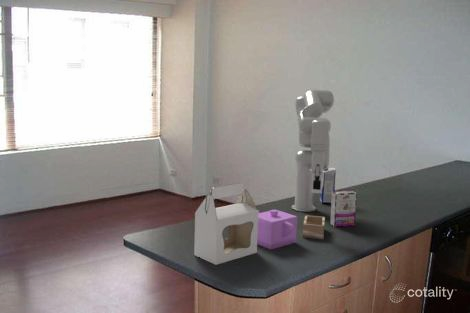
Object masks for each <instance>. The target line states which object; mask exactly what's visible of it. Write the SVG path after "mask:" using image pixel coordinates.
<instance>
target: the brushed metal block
mask: <svg viewBox="0 0 470 313" xmlns="http://www.w3.org/2000/svg"><path fill="white" fill-rule="evenodd" d="M314 173H316V172H314ZM314 173H313V174H312V190H311V193H313V194H320V193H322V179H323V172H322V174H321V177H320V181H321V186H320V190H317V189H313V180H314ZM319 174H320V172H319Z"/></svg>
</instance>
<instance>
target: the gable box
mask: <svg viewBox="0 0 470 313" xmlns="http://www.w3.org/2000/svg"><path fill="white" fill-rule="evenodd" d="M208 191H209V194H208V195H206V196H205V198H204V199H203V201H202V202H201V203H200V205H199V206H198V208H197V209H196V211H195V212H194V244H193V245H194V250H193V251H194V253H193V254H194V256H195V257H197V258H199V257H200V259H201V260H205V261H206V262H209V263H211V264H213V265H215V266H218V265H220V264H224V263H227V262H230V261H234V260H236V259H240V258H244V257H246V256H251V255H255V254H257V253H258V251H257V250H258V244H257V234H258V210H259V209H258V208H257V206H256V203H255V202H254V200H253V198H252V196H251V195H250V193H249V189H245V184H244V183H243V182H239V183H238V182H237V183H232V184H226V185H225V184H224V185H220V186H214V187H212V188H211V189H209V190H208ZM237 195H238V198H237V201H236V203H233V204H228V205H225V206H224V205H223V206H220V207H216V205H215V204H216V203H215V200H216V199H222V198H226V197H232V196H237ZM226 227H228V236H227V238H225V239H224V238H223V231H224V229H225V228H226Z"/></svg>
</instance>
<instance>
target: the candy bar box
mask: <svg viewBox="0 0 470 313" xmlns="http://www.w3.org/2000/svg"><path fill="white" fill-rule="evenodd" d="M357 198H358V193H357V192H356V191H354V190H343V191H342V190H341V191H339V190H338V191H335V192H332V200H331V204H330V205H331V206H330V220H329V221H330V222H329V223H330V226H332V225H333V227H334V228H337V226H338V228H341V227H340V226H343V227H354V226H356V215H357Z"/></svg>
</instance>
